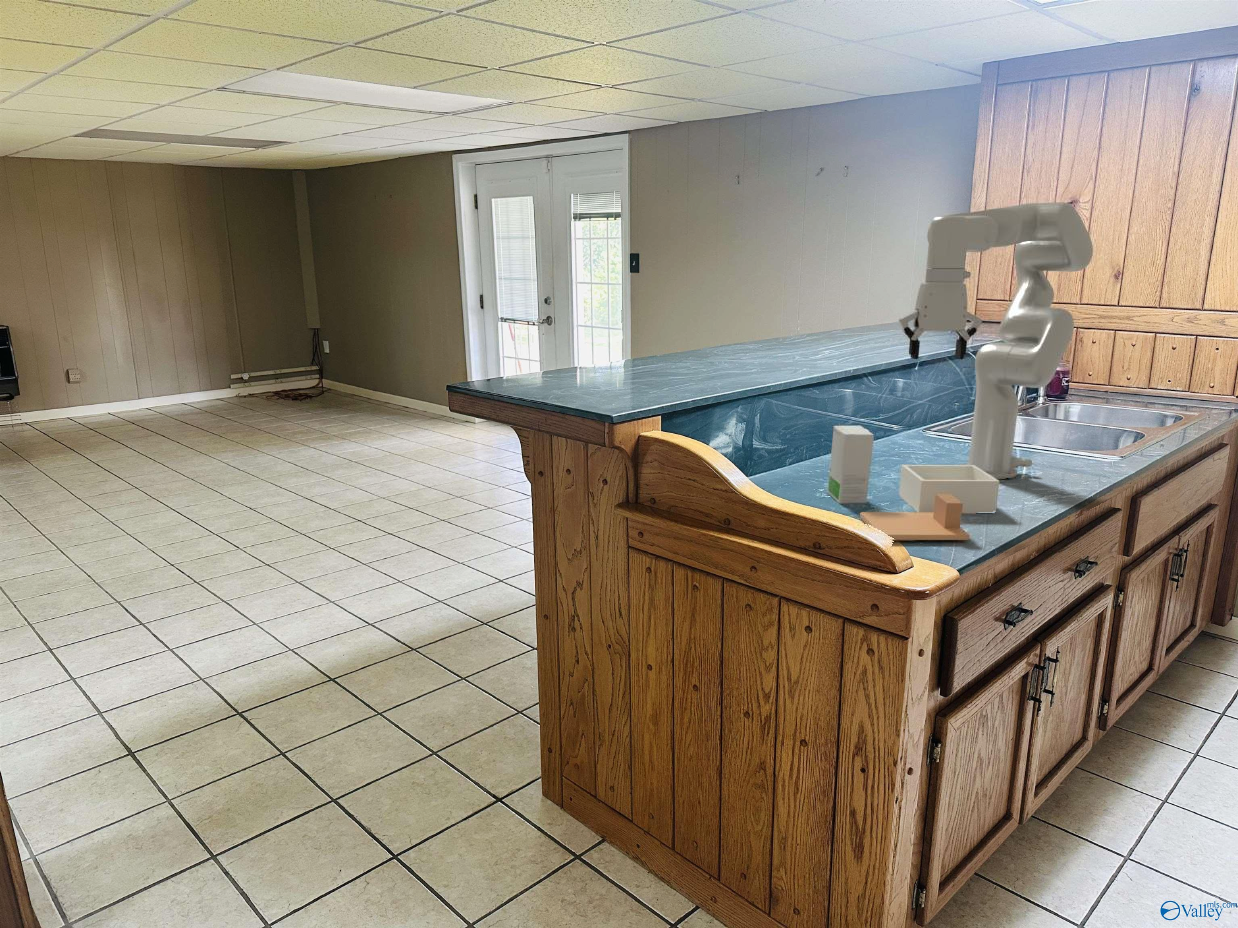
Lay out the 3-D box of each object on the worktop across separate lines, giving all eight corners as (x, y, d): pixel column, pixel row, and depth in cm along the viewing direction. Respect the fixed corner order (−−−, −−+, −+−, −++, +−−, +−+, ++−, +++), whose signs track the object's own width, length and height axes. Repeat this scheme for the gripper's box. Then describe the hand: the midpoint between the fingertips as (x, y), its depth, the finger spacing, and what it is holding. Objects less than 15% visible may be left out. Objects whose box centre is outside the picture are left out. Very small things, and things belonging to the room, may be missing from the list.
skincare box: (827, 493, 192) (831, 425, 188) (855, 492, 192) (860, 424, 188) (839, 504, 184) (844, 433, 180) (869, 503, 184) (875, 433, 180)
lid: (941, 521, 173) (945, 488, 172) (968, 544, 160) (972, 509, 159) (859, 521, 173) (862, 488, 172) (879, 544, 160) (882, 509, 159)
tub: (970, 495, 190) (974, 465, 189) (995, 513, 178) (999, 481, 176) (898, 495, 190) (901, 464, 189) (918, 513, 178) (921, 480, 176)
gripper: (978, 276, 184) (970, 356, 188) (897, 276, 184) (891, 356, 188) (993, 278, 176) (984, 361, 181) (909, 277, 176) (902, 360, 181)
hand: (936, 358), depth 184 cm, fingers open, 9 cm apart
